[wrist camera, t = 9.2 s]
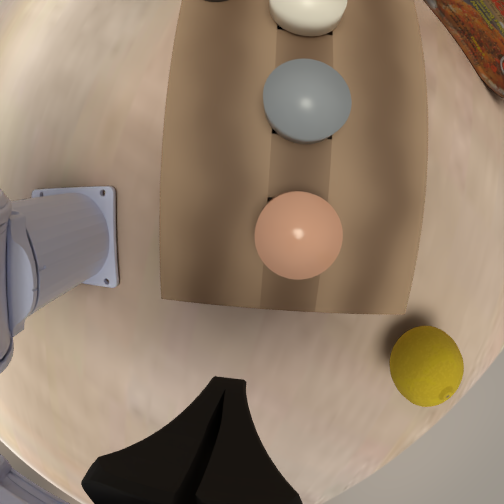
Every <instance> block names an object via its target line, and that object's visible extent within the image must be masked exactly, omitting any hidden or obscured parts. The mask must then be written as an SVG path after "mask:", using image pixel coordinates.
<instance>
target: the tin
mask: <svg viewBox="0 0 504 504" xmlns="http://www.w3.org/2000/svg"><path fill="white" fill-rule="evenodd" d="M424 1H425V3H426V4H427V5H428V6H429V8H430V9H431V10H432V11H433V12H434V13H435V15H436V16H437V17H438V18H439V19H440V21H441V22H442V23H443V24H444V26H445V27H446V28H447V29H448V31H449V32H450V33H451V35H452V36H453V37H454V39H455V40H456V41H457V43H458V44H459V46H460V47H461V49H462V50H463V52H464V53H465V55H466V56H467V58H468V59H469V61H470V62H471V64H472V65H473V67H474V69H475V70H476V72H477V73H478V75H479V76H480V77H481V79H482V80H483V81H484V82H485V83H486V84H487V85H488V86H489V87H490V88H491V89H492V90H493V91H494V92H495V93H497V94H498V95H499V96H501V97H502V98H504V0H424Z"/></svg>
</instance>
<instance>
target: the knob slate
mask: <svg viewBox="0 0 504 504" xmlns="http://www.w3.org/2000/svg"><path fill="white" fill-rule="evenodd" d="M263 103H264V111H265V115H266V118H267V120H268V123H269V124H270V126H271V127H272V128H273V130H274V131H275V132H276V133H277V134H279V135H280V136H281V137H283V138H285V139H286V140H289V141H291V142H294V143H298V144H314V143H318V142H321V141H323V140H325V139H327V138H328V137H330V136H331V135H333V134H334V133H335V132H336V131H338V130H339V129H340V128H341V127H342V126H343V125H344V124H345V122H346V121H347V119H348V117H349V114H350V111H351V104H352V101H351V94H350V90H349V87H348V85H347V83H346V82H345V80H344V79H343V77H342V76H341V75H340V74H339V73H338V72H337V71H336V70H335V69H333V68H332V67H330V66H329V65H327V64H325V63H323V62H320V61H317V60H312V59H295V60H291V61H287V62H285V63H283V64H281V65H280V66H278V67H277V68H276V69H274V70H273V71H272V73H271V74H270V75H269V77H268V78H267V80H266V82H265V85H264V90H263Z"/></svg>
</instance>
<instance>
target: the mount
mask: <svg viewBox="0 0 504 504" xmlns="http://www.w3.org/2000/svg"><path fill="white" fill-rule="evenodd" d="M277 26H278V24H277V23H276V22H275V21H274V19H273V18H272V16H271V14H270V4H269V0H182V3H181V8H180V13H179V18H178V23H177V28H176V34H175V40H174V46H173V52H172V59H171V66H170V73H169V81H168V89H167V98H166V107H165V117H164V129H163V142H162V158H161V179H160V279H161V299H168V300H176V301H185V302H194V303H203V304H213V305H223V306H234V307H246V308H258V309H272V310H287V311H303V312H323V313H349V314H405V311H406V307H407V302H408V298H409V294H410V289H411V285H412V280H413V275H414V270H415V265H416V260H417V254H418V248H419V242H420V235H421V228H422V220H423V212H424V203H425V192H426V179H427V161H428V105H427V87H426V75H425V65H424V56H423V49H422V42H421V35H420V29H419V24H418V18H417V13H416V9H415V4H414V0H347V6H346V8H345V10H344V13H343V15H342V17H341V19H340V22H339V24H338V25H337V27H336V28H335V29H334V30H332V31H331V32H329V33H327V34H324V35H320V36H302V35H297V34H294V33H291V32H289V31H287V30H278V29H277ZM295 59H312V60H317V61H320V62H323V63H325V64H327V65H329V66H330V67H332V68H333V69H335V70H336V71H337V72H338V73H339V74H340V75H341V76H342V77H343V79H344V80H345V82H346V83H347V85H348V87H349V90H350V94H351V101H352V104H351V111H350V114H349V117H348V119H347V121H346V122H345V124H344V125H343V126H342V127H341V128H340V129H339V130H338V131H336V132H335V133H334V134H333V135H331V136H330V137H328V138H327V139H325V140H323V141H321V142H318V143H314V144H298V143H294V142H291V141H289V140H286V139H285V138H283V137H281V136H280V135H279V134H272V127H271V126H270V124H269V123H268V120H267V118H266V115H265V111H264V103H263V90H264V85H265V82H266V80H267V78H268V77H269V75H270V74H271V73H272V71H273V70H274V69H276V68H277V67H278V66H280V65H281V64H283V63H285V62H287V61H291V60H295ZM288 191H304V192H308V193H311V194H314V195H317V196H319V197H321V198H322V199H324V200H325V201H327V202H328V203H329V204H330V205H331V206H332V207H333V208H334V210H335V211H336V213H337V214H338V216H339V218H340V221H341V224H342V229H343V241H342V246H341V249H340V252H339V254H338V256H337V258H336V260H335V261H334V262H333V264H332V265H331V266H330V267H329V268H328V269H327V270H325V271H324V272H322V273H321V274H319V275H317V276H314V277H312V278H308V279H302V280H295V279H288V278H284V277H282V276H279V275H278V274H276V273H274V272H273V271H271V270H270V269H269V268H268V267H267V266H266V265H265V264H264V263H263V261H262V260H261V258H260V257H259V255H258V252H257V249H256V246H255V236H254V234H255V227H256V223H257V220H258V217H259V215H260V213H261V211H262V209H263V208H264V206H265V205H266V204H267V203H268V197H273V198H274V197H275V196H277V195H279V194H281V193H284V192H288Z"/></svg>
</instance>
